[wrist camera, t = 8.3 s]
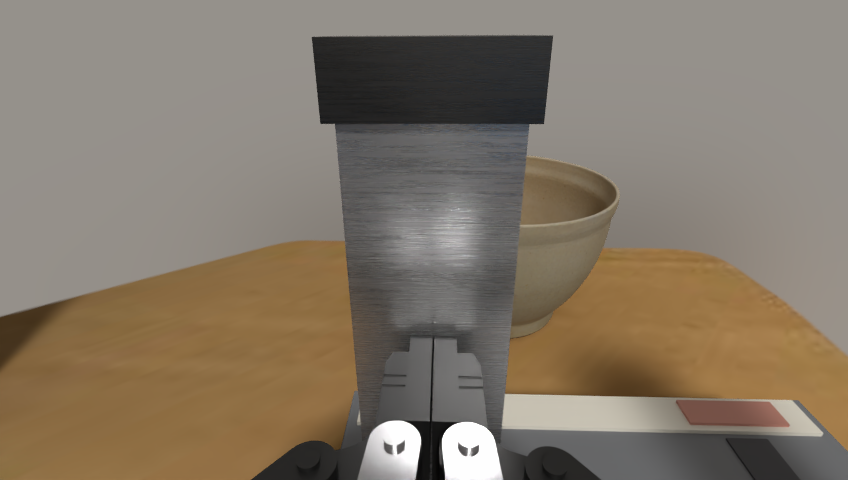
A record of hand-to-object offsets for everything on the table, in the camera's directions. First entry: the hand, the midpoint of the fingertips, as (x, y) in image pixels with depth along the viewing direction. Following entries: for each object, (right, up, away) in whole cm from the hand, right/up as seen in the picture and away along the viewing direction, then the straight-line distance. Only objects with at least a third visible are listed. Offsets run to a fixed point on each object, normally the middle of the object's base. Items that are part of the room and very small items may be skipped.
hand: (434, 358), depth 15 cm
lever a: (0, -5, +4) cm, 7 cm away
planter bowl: (+5, -2, +23) cm, 23 cm away
